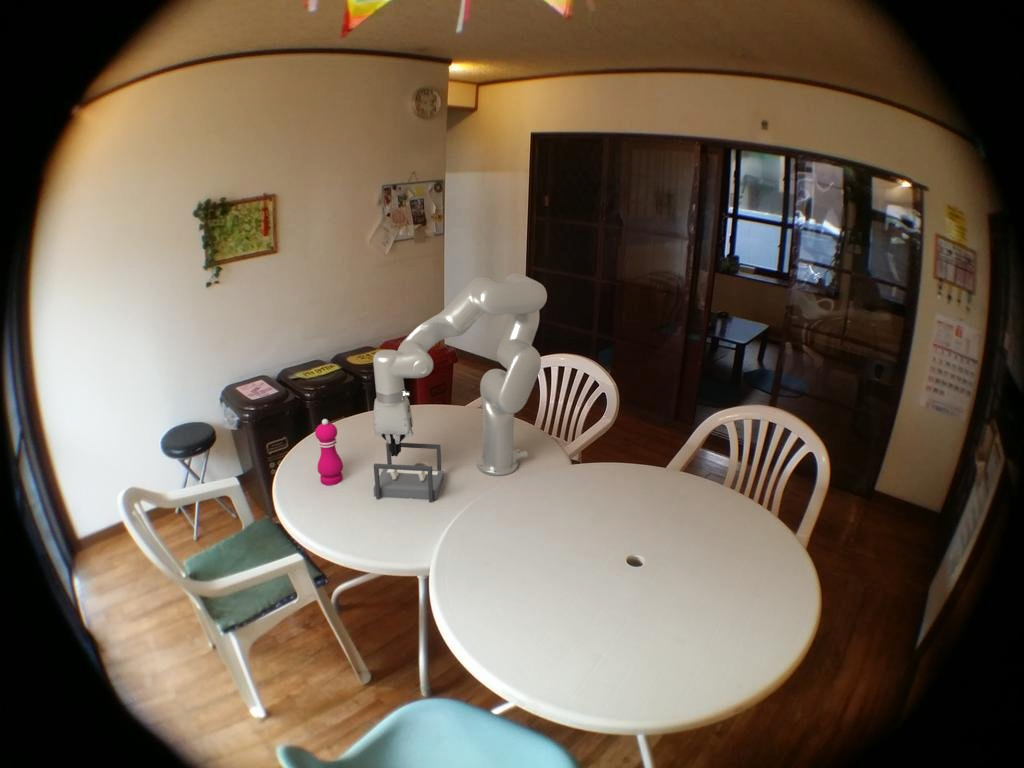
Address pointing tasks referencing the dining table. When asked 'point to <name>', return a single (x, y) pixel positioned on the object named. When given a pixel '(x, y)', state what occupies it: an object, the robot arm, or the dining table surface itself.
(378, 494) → the dark grey open frame
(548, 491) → the dining table surface
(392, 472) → the paddle
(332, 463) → the pepper mill
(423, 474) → the cream cuboid
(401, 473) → the breaker panel
